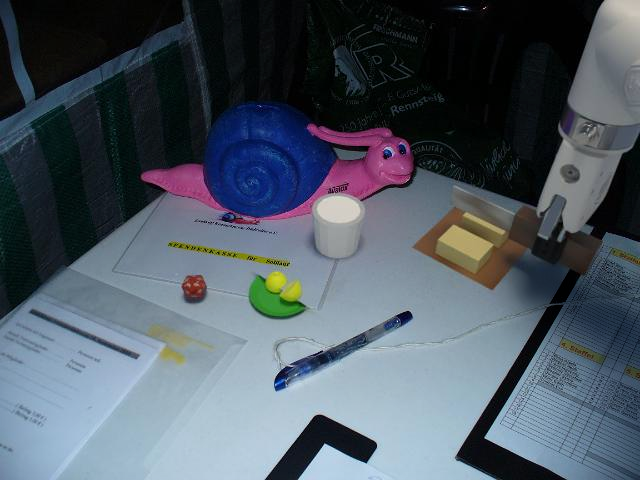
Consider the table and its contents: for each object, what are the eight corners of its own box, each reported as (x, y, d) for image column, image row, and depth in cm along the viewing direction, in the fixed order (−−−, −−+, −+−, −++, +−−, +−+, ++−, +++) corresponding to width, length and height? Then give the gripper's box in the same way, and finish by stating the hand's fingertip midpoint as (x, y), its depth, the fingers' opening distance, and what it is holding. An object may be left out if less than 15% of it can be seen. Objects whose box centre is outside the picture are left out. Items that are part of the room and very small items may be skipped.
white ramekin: (349, 227, 84) (352, 187, 79) (370, 259, 79) (374, 219, 75) (304, 238, 82) (304, 198, 77) (322, 272, 77) (323, 231, 73)
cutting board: (538, 238, 83) (540, 233, 82) (490, 295, 75) (492, 290, 74) (462, 202, 88) (464, 197, 88) (410, 252, 80) (411, 247, 80)
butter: (489, 258, 78) (494, 244, 77) (474, 274, 76) (478, 260, 74) (450, 237, 81) (453, 224, 80) (434, 253, 79) (437, 239, 77)
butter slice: (508, 237, 82) (513, 223, 80) (498, 248, 80) (502, 234, 78) (470, 218, 84) (473, 204, 83) (459, 229, 83) (462, 215, 81)
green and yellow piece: (324, 285, 76) (325, 269, 74) (294, 328, 70) (293, 313, 69) (270, 263, 78) (269, 248, 76) (236, 304, 73) (235, 288, 71)
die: (188, 284, 75) (185, 267, 73) (211, 288, 75) (209, 271, 73) (179, 301, 73) (176, 284, 71) (203, 305, 73) (200, 289, 71)
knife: (592, 265, 72) (603, 240, 69) (584, 276, 70) (595, 251, 68) (454, 199, 80) (459, 175, 78) (445, 207, 79) (450, 183, 76)
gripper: (607, 172, 54) (550, 304, 67) (663, 104, 64) (603, 231, 76) (531, 141, 58) (490, 273, 70) (594, 81, 67) (548, 207, 80)
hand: (549, 250), depth 73 cm, fingers closed on knife, 2 cm apart
